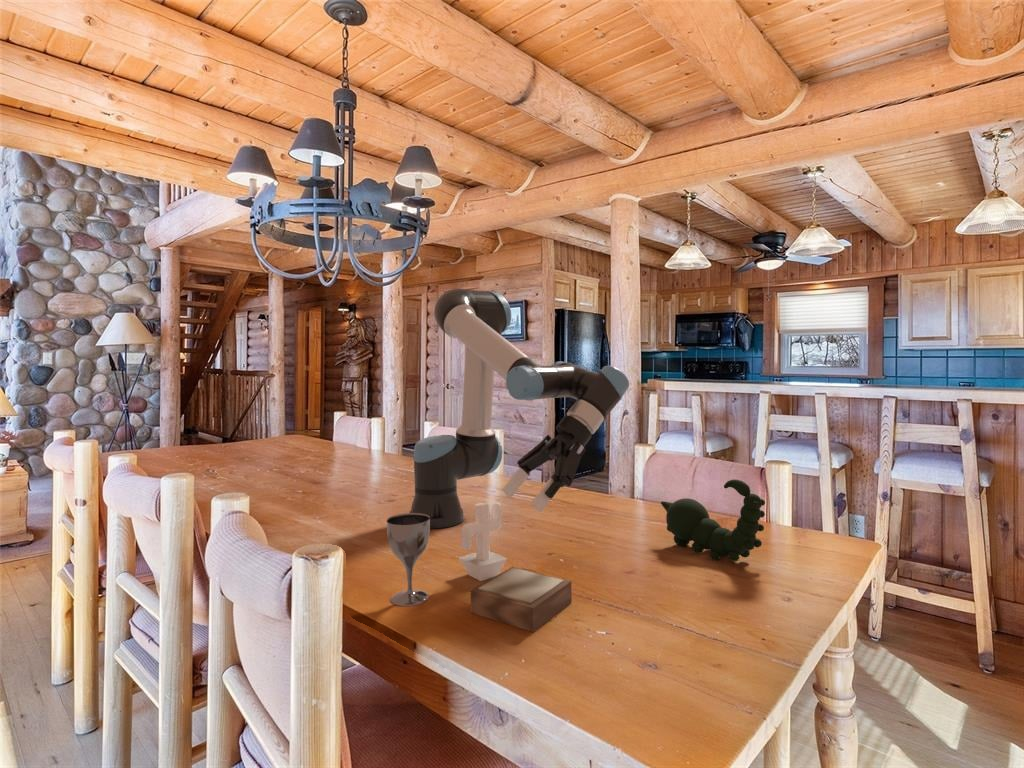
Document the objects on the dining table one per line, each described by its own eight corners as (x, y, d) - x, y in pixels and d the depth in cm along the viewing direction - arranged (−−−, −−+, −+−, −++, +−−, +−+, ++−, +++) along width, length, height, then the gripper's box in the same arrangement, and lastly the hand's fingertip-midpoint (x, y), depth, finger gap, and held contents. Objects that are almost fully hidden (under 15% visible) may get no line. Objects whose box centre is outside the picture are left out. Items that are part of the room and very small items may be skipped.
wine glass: (412, 585, 108) (410, 510, 107) (440, 596, 103) (438, 517, 102) (379, 599, 102) (377, 520, 101) (407, 611, 97) (405, 527, 96)
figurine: (454, 576, 112) (452, 504, 112) (490, 564, 118) (489, 496, 118) (474, 587, 107) (473, 511, 106) (511, 574, 113) (510, 502, 112)
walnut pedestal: (471, 612, 96) (470, 588, 96) (512, 586, 106) (512, 565, 106) (533, 632, 88) (533, 606, 88) (571, 602, 99) (571, 579, 99)
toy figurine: (767, 571, 117) (671, 531, 138) (775, 483, 115) (676, 456, 136) (741, 581, 112) (645, 538, 132) (749, 490, 109) (651, 461, 130)
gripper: (623, 442, 111) (561, 526, 105) (560, 430, 133) (506, 499, 127) (601, 418, 108) (536, 503, 102) (541, 410, 131) (485, 479, 125)
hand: (519, 501), depth 115 cm, fingers open, 13 cm apart
